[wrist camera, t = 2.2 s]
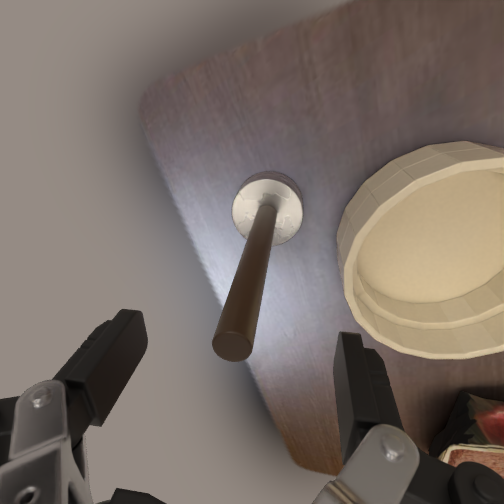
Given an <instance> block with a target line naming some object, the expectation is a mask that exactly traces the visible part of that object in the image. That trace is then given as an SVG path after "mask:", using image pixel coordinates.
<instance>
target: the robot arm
mask: <svg viewBox="0 0 504 504" xmlns="http://www.w3.org/2000/svg"><path fill="white" fill-rule="evenodd" d="M147 344H148V337H147V332H146V327H145V323H144V318H143V314H142V312H141V311H138V310H128V309H122V310H120V311H119V312H118V313H117V315H116V316H115V317H114V318H113V319H112V321H111V320H107V321H106V322H104V323H103V324H101V325H100V326H98V327H97V328H96V329H95V330H94V331H93V332H92V333H91V334H90V335H89V337H88V338H87V340H85V341H84V343H83V344H82V345H81V347H80V348H78V350H77V351H76V352H75V353H74V354H73V356H72V357H71V358H70V359H69V360H68V361H67V363H66V364H65V365H64V366H63V367H62V368H61V369H60V371H59V372H58V373H57V374H56V375H55V377H54V378H53V379H52V380H46V381H42V382H40V383H37V384H35V385H33V386H32V387H30V388H29V389H27V390H26V391H25V392H24V393H23V394H22V395H21V396H17V397H11V398H4V399H0V504H93V500H92V496H91V491H90V485H89V474H88V461H87V449H86V438H85V434H84V433H85V431H86V429H87V428H88V426H89V425H93V426H100V427H101V426H102V425H103V423H104V421H105V420H106V418H107V416H108V414H109V413H110V411H111V410H112V408H113V406H114V404H115V403H116V401H117V399H118V398H119V396H120V394H121V393H122V391H123V389H124V388H125V386H126V384H127V383H128V381H129V379H130V377H131V376H132V374H133V372H134V371H135V369H136V367H137V366H138V364H139V362H140V361H141V359H142V357H143V355H144V354H145V351H146V349H147ZM333 375H334V385H335V395H336V404H337V414H338V423H339V433H340V442H341V452H342V462H343V465H345V466H344V467H343V469H342V470H341V472H340V473H339V475H338V476H337V477H336V479H335V480H334V481H329V482H328V483H327V484H326V485H325V486H324V488H323V489H322V490H321V492H320V493H319V495H318V496H317V497H316V499H315V500H314V501H313V503H312V504H504V479H503V478H502V477H501V476H500V475H499V474H498V473H496V472H495V471H494V470H492V469H491V468H489V467H487V466H485V465H483V464H480V463H477V462H472V461H465V462H462V463H460V464H459V465H458V466H457V467H454V466H452V465H450V464H447V463H445V462H443V461H441V460H438V459H436V458H434V457H432V456H430V455H428V454H426V453H425V452H423V451H422V450H420V449H419V448H418V447H417V446H416V445H415V443H414V442H413V440H412V439H411V438H410V437H409V436H408V435H407V434H406V433H405V431H404V429H403V426H402V423H401V419H400V416H399V413H398V409H397V406H396V402H395V399H394V395H393V392H392V389H391V386H390V382H389V378H388V376H387V371H386V368H385V365H384V361H383V359H382V358H381V357H380V356H379V354H378V353H377V352H376V351H375V349H369V348H364V347H363V342H362V338H361V335H360V333H351V332H341V331H340V332H339V335H338V340H337V346H336V352H335V357H334V366H333ZM97 504H166V503H164V502H162V501H160V500H159V499H157V498H155V497H153V496H151V495H150V494H148V493H142V492H137V491H130V490H125V489H119V488H116V490H115V492H114V494H113V496H112V498H111V500H107V501H103V502H100V503H97Z"/></svg>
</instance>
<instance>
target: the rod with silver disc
mask: <svg viewBox="0 0 504 504" xmlns="http://www.w3.org/2000/svg"><path fill="white" fill-rule="evenodd" d="M232 219H233V222H234V225H235V227H236V229H237V230H238V231H239V233H240V234H241V235H242V236H243V237H244V238H245V239H247V242H246V245H245V248H244V251H243V253H242V256H241V259H240V262H239V265H238V268H237V271H236V274H235V277H234V279H233V282H232V285H231V288H230V291H229V294H228V297H227V300H226V303H225V305H224V308H223V311H222V314H221V317H220V320H219V323H218V326H217V329H216V332H215V334H214V338H213V340H212V346H213V349H214V351H215V353H216V354H217V355H218V356H219V357H221V358H222V359H224V360H227V361H231V362H239V361H243V360H245V359H247V358H248V357H249V356H250V355H251V353H252V349H253V344H254V338H255V333H256V327H257V322H258V317H259V311H260V306H261V300H262V295H263V289H264V284H265V278H266V273H267V268H268V262H269V257H270V251H271V246H276V245H280V244H282V243H285V242H287V241H288V240H290V239H291V238H292V237H293V236H294V235H295V234H296V233H297V231H298V230H299V228H300V226H301V223H302V220H303V198H302V194H301V192H300V189H299V188H298V186H297V185H296V184H295V182H294V181H293V180H292V179H290V178H289V177H287V176H286V175H284V174H281V173H278V172H272V171H266V172H260V173H257V174H255V175H253V176H251V177H250V178H248V179H247V180H246V181H245V182H244V183H243V185H242V186H241V188H240V189H239V191H238V193H237V195H236V196H235V198H234V201H233V204H232Z"/></svg>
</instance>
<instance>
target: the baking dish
mask: <svg viewBox="0 0 504 504" xmlns="http://www.w3.org/2000/svg"><path fill="white" fill-rule="evenodd" d="M428 451H429V455H430V456H432V457H434V458H436V459H438V460H441V461H443V462H445V463H447V464H450V465H452V466H454V467H457V466H458V465H459V464H460V463H462V462H465V461H472V462H477V463H480V464H483V465H485V466H487V467H489V468H491V469H492V470H494V471H495V472H496V473H498V474H499V475H500V476H501V477H502V478H503V479H504V402H502V401H496V400H489V399H483V398H480V397H477V396H474V395H472V394H469V393H466V392H463V391H460V394H459V396H458V398H457V401H456V403H455V406H454V408H453V410H452V413H451V415H450V418H449V420H448V422H447V425H446V427H445V429H444V430H443V431H441V432H440V433H439V434H437V435H436V436H435V437H434V439H433V442H432V444H431V446H430V448H429V450H428Z"/></svg>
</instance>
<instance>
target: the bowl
mask: <svg viewBox="0 0 504 504" xmlns="http://www.w3.org/2000/svg"><path fill="white" fill-rule="evenodd" d="M336 242H337V261H338V266H339V271H340V276H341V281H342V286H343V291H344V295H345V298H346V300H347V303H348V305H349V307H350V309H351V312H352V314H353V316H354V319H355V320H356V321H357V322H358V323H359V324H360V325H361V326H362V327H363V328H364V329H365V330H366V331H367V332H368V333H369V334H370V335H371V336H372V337H373V338H374V339H375V340H377V341H379V342H381V343H383V344H385V345H387V346H389V347H391V348H393V349H395V350H396V351H398V352H401V353H406V354H410V355H415V356H419V357H424V358H428V359H468V358H473V357H478V356H483V355H487V354H492V353H497V352H501V351H504V148H500V147H496V146H490V145H485V144H480V143H475V142H469V141H459V142H451V143H442V144H434V145H428V146H425V147H422V148H420V149H418V150H415V151H413V152H410V153H408V154H406V155H403V156H401V157H398V158H396V159H394V160H392V161H390V162H389V163H388V164H387V165H385V166H384V167H383V168H381V169H380V170H379V171H378V172H376V173H375V174H374V175H372V176H371V177H370V178H369V179H367V180H366V181H365V182H364V183H363V184H362V186H361V187H360V188H359V190H358V191H357V192H356V194H355V195H354V197H353V198H352V199H351V201H350V202H349V203H348V205H347V206H346V208H345V210H344V213H343V216H342V219H341V222H340V225H339V228H338V231H337V235H336Z"/></svg>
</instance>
